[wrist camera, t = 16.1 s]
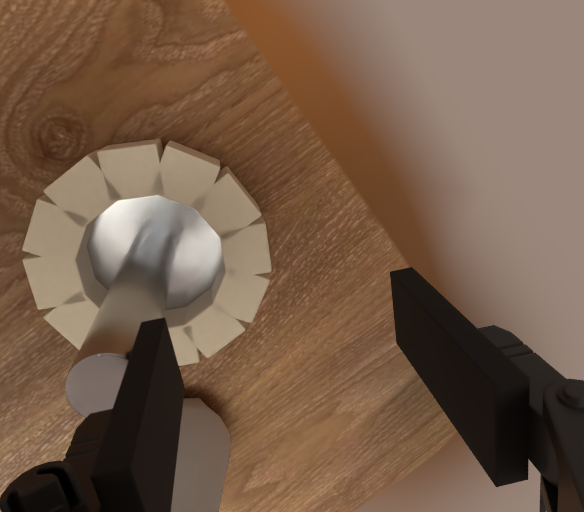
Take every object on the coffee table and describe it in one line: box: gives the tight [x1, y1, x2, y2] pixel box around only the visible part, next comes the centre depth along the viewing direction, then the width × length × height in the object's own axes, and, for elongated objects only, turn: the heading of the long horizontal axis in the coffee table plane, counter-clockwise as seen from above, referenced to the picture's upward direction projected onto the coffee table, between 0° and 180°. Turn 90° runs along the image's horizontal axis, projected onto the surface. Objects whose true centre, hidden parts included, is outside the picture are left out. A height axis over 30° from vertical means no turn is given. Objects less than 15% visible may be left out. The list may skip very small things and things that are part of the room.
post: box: [65, 195, 223, 418], centre depth 21 cm, size 8×8×14 cm
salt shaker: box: [171, 398, 231, 512], centre depth 26 cm, size 6×6×13 cm
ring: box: [22, 139, 272, 366], centre depth 26 cm, size 12×12×2 cm
